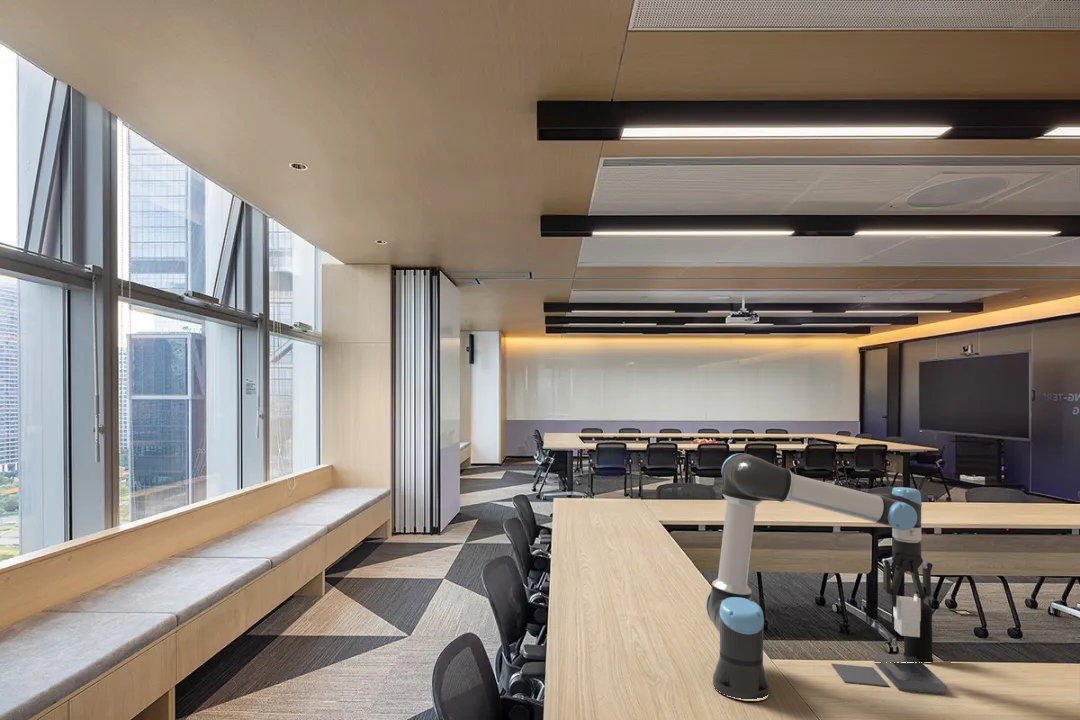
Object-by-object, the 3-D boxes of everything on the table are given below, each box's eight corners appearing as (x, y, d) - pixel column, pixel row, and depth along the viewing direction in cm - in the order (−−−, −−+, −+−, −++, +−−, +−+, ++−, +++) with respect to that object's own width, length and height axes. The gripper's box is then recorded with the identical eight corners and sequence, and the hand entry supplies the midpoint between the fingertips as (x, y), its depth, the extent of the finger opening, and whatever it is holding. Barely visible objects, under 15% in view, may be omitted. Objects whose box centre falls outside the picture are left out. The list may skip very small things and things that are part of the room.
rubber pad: (844, 682, 175) (844, 681, 175) (831, 664, 187) (831, 663, 187) (889, 687, 173) (889, 685, 173) (872, 668, 185) (872, 667, 185)
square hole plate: (898, 690, 171) (898, 679, 171) (874, 663, 189) (874, 653, 189) (944, 694, 169) (944, 683, 170) (915, 666, 187) (915, 657, 187)
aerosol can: (919, 664, 189) (918, 599, 190) (897, 653, 197) (896, 591, 198) (939, 662, 191) (939, 598, 192) (917, 651, 199) (916, 590, 200)
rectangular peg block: (901, 635, 178) (901, 601, 179) (894, 629, 183) (894, 595, 184) (919, 637, 177) (919, 602, 178) (912, 630, 182) (912, 597, 183)
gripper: (879, 540, 179) (879, 620, 178) (945, 545, 177) (946, 626, 175) (869, 534, 187) (869, 611, 185) (933, 539, 184) (933, 616, 183)
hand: (906, 618), depth 180 cm, fingers closed on rectangular peg block, 5 cm apart
